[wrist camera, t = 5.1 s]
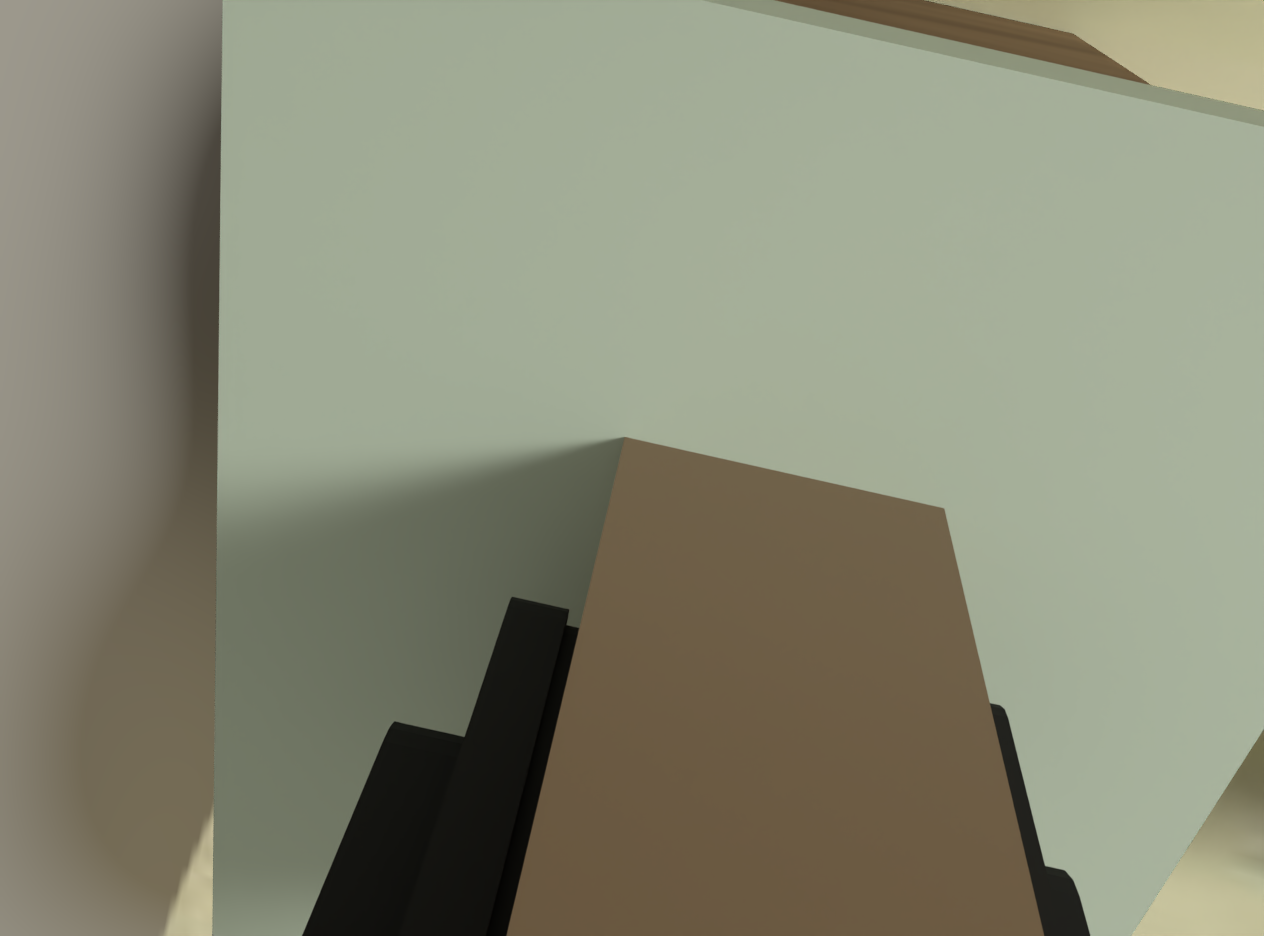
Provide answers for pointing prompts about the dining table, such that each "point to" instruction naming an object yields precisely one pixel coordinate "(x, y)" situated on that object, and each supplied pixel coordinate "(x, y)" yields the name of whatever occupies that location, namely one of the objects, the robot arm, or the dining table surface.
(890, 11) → the box
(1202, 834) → the dining table surface
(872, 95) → the lid
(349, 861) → the robot arm
